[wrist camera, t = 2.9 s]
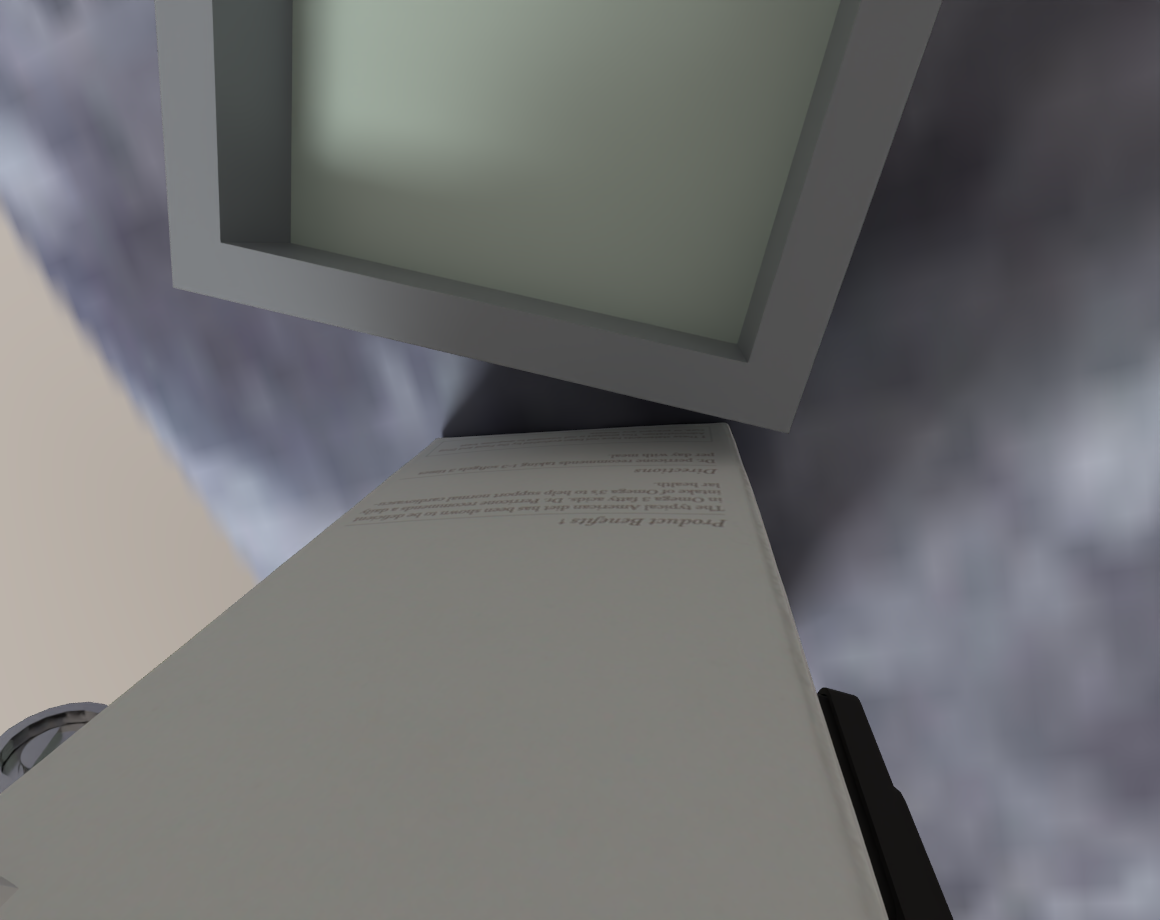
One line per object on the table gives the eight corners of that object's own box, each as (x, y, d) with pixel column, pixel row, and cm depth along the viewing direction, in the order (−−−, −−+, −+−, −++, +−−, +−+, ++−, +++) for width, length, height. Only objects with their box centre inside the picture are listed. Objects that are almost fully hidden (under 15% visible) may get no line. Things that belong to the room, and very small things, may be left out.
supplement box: (478, 674, 17) (8, 1671, 5) (433, 430, 14) (-700, 1272, 3) (742, 685, 15) (939, 2088, 4) (743, 416, 13) (1345, 2077, 1)
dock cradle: (278, -457, 9) (104, -756, 6) (1014, -366, 8) (1180, -670, 6) (277, 278, 14) (173, 287, 11) (764, 392, 13) (788, 433, 10)
